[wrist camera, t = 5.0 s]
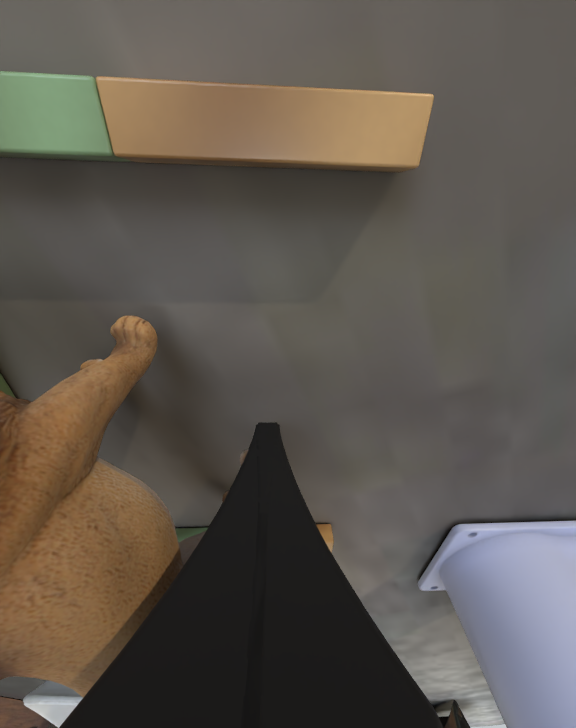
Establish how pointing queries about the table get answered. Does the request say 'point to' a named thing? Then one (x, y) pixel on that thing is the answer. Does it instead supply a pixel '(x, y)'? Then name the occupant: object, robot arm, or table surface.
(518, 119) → the table surface
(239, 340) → the table surface
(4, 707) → the tissue box cover
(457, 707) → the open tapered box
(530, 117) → the table surface
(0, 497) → the lion figurine
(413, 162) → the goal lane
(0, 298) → the table surface
